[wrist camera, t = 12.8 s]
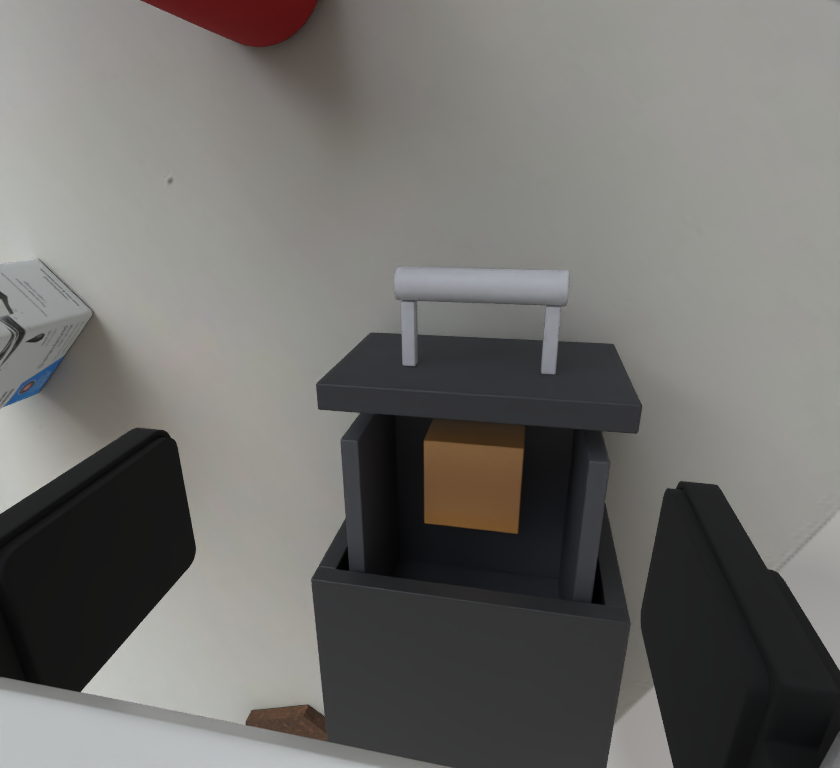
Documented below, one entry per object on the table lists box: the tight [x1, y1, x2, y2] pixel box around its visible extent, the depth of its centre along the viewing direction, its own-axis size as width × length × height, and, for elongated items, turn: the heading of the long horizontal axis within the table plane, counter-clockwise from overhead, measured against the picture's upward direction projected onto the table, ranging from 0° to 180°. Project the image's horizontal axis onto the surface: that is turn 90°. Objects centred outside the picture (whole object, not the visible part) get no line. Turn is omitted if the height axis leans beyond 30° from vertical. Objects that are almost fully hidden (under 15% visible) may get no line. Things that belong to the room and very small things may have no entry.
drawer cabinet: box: [311, 504, 631, 768], centre depth 30 cm, size 16×14×10 cm
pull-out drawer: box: [316, 267, 642, 603], centre depth 26 cm, size 19×13×8 cm, turn 1°
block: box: [424, 418, 525, 534], centre depth 27 cm, size 4×4×4 cm
